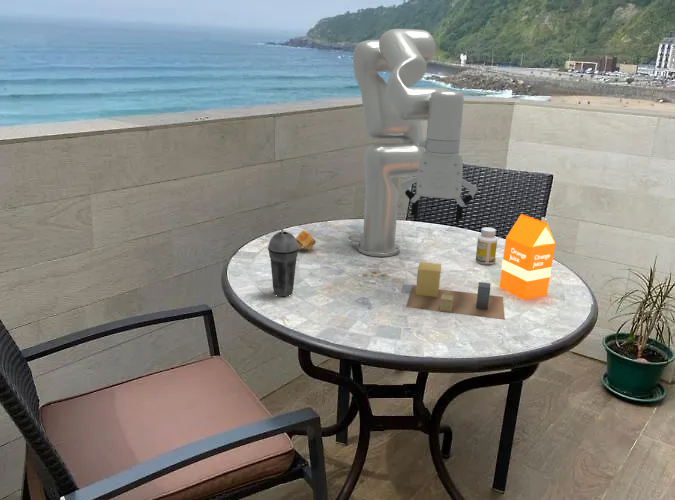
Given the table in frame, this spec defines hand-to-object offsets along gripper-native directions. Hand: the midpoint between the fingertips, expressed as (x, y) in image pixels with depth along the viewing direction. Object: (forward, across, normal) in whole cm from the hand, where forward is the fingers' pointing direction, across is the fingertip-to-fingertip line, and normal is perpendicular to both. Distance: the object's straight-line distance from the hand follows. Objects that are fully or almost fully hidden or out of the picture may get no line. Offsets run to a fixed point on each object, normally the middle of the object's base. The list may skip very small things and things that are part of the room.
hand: (436, 220), depth 138 cm
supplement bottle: (+19, +13, +30) cm, 38 cm away
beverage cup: (+19, -35, -9) cm, 41 cm away
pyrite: (+19, -39, +22) cm, 49 cm away
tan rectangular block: (+18, -1, 0) cm, 18 cm away
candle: (+19, +27, +28) cm, 43 cm away
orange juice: (+20, +22, +8) cm, 31 cm away
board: (+20, +6, -4) cm, 21 cm away
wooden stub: (+18, +4, -9) cm, 21 cm away
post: (+18, +12, -5) cm, 23 cm away
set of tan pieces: (+20, -15, +6) cm, 26 cm away
